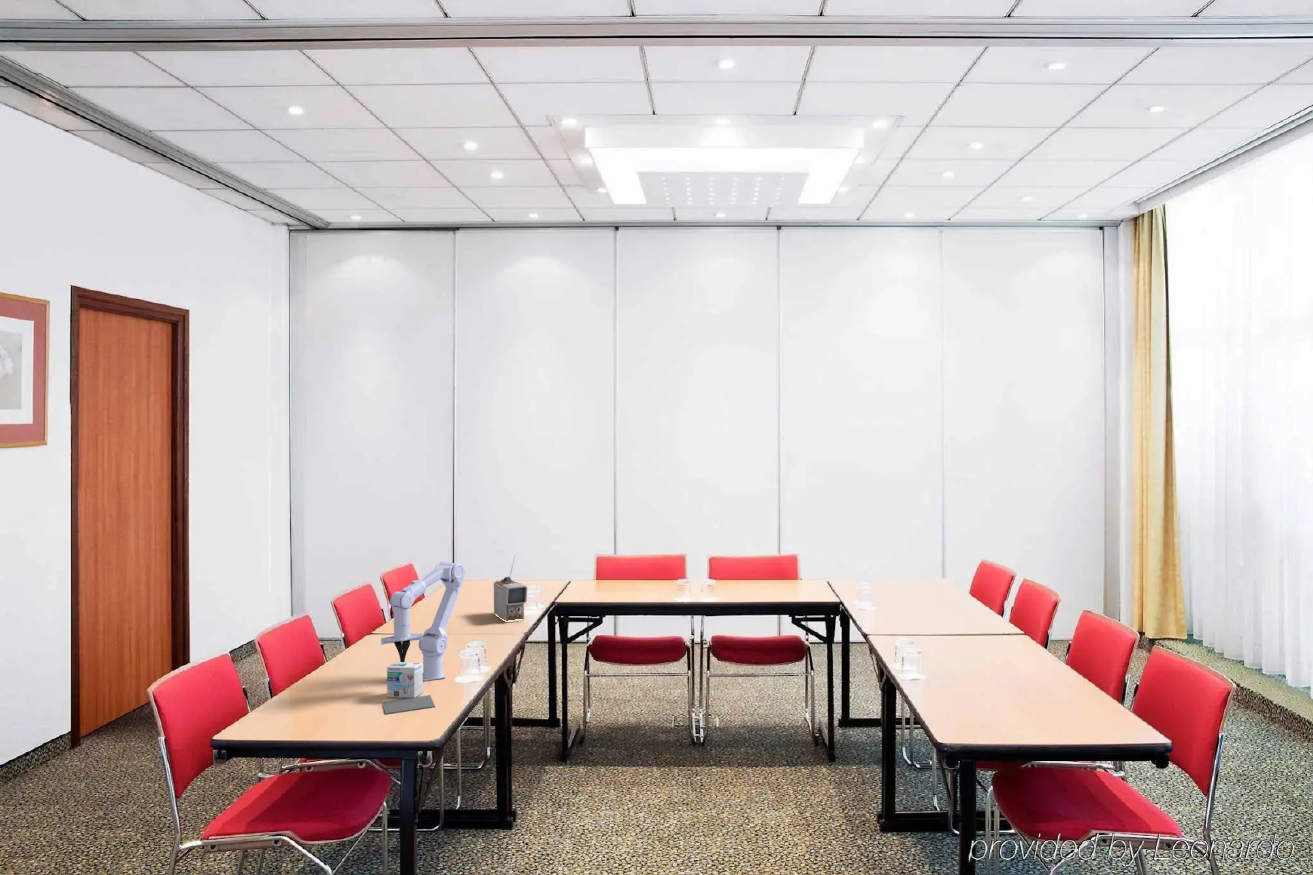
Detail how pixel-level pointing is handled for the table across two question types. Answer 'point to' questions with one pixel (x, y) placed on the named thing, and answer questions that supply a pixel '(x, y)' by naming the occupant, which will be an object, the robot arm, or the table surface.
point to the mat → (408, 704)
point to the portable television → (509, 598)
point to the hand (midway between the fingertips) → (402, 661)
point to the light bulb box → (404, 680)
